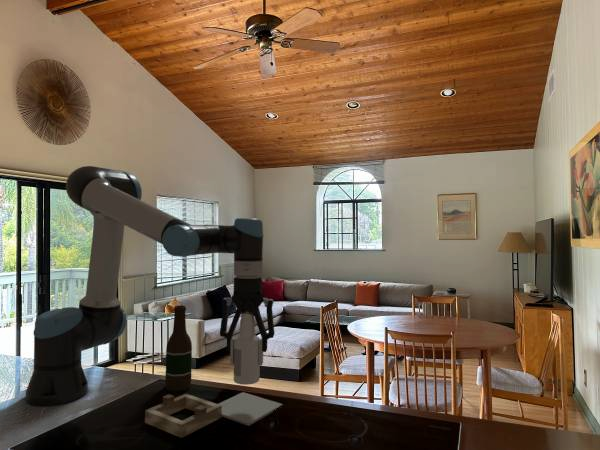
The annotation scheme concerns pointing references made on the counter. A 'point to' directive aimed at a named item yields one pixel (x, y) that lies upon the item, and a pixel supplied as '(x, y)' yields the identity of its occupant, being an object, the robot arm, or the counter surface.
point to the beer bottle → (179, 354)
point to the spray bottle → (246, 352)
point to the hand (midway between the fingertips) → (246, 363)
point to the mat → (247, 408)
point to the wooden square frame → (160, 413)
